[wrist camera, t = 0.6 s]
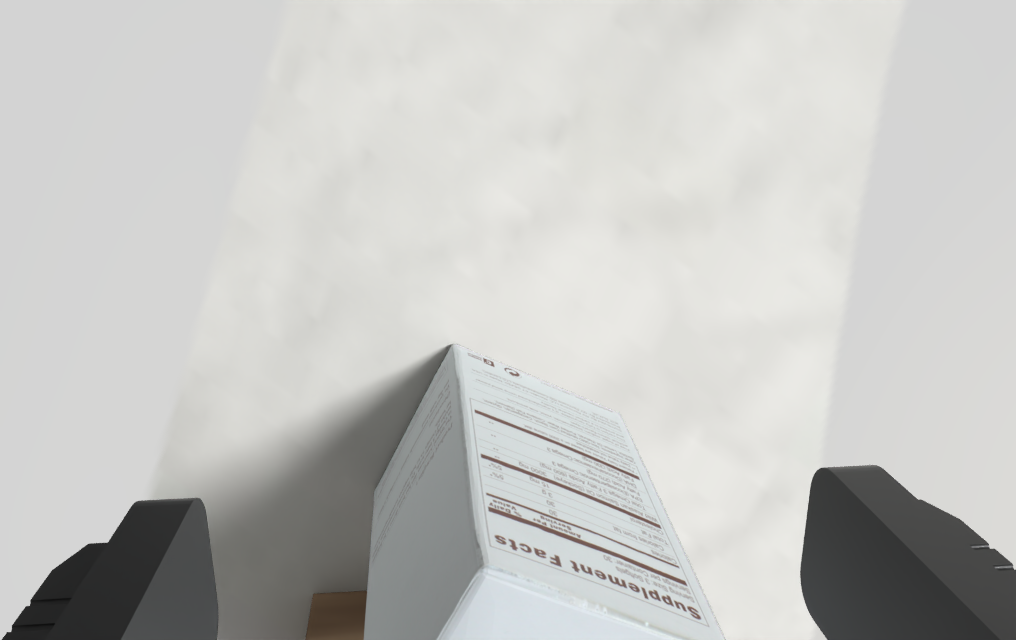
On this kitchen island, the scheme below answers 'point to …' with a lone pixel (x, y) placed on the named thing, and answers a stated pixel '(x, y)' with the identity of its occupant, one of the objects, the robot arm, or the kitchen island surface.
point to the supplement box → (523, 521)
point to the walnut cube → (337, 616)
